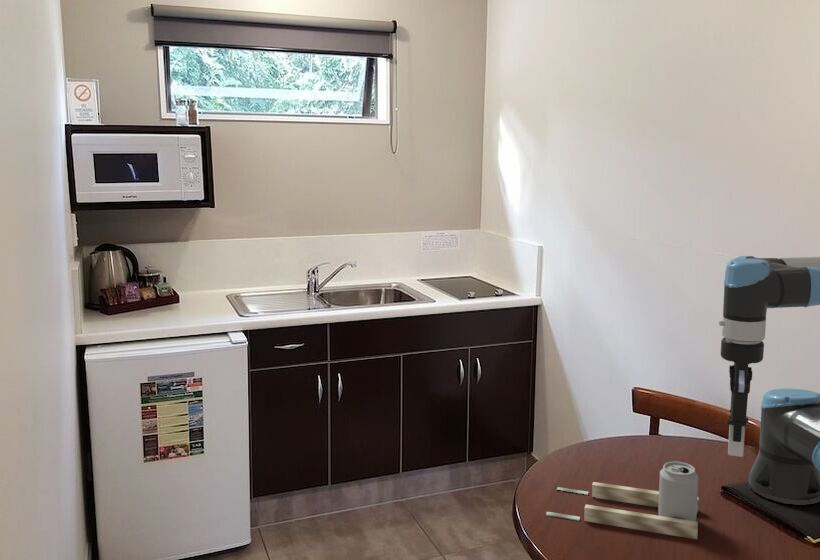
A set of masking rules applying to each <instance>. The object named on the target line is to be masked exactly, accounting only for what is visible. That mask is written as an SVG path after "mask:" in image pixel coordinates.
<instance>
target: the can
mask: <svg viewBox="0 0 820 560" xmlns="http://www.w3.org/2000/svg"><path fill="white" fill-rule="evenodd" d="M658 483H659V485H658V486H659V487H658V491H659V507H657V508H658V510H657V511H658V512H657V513H658V514H657V516H664V517H669V516H671V517H677V518H684V519H685V520H690V521H696V522H697V514H698V513H697V497H699V496H698V494H699V493H698V492H699V474H697V472H696V468H695V467H694V466H693V465H691V464H689V463H686V462H682V461H667V462H666V463H664V464H663V466H662V469H661V470H659V482H658Z"/></svg>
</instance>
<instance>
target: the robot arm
mask: <svg viewBox="0 0 820 560" xmlns="http://www.w3.org/2000/svg"><path fill="white" fill-rule="evenodd" d="M723 285H724V286H723V288H724V290H723V306H722V307H723V308H722V312H723V313H722V316H723V317H722V320H720V321H718V325H719V327H720V326H721V327H722V329H721V330H722V331H721V336H723V338H722V339H721V341H720V342H721V343H720V357H721V358H722V359H723V360H725V361H727V362H732V363H733V365H729V369H728V372H729V378H730V379H729V389H730V393H731V394H730V409H729V413H730V415H729V419H730V420H728V419H727V420H726V425H729V428H728V443H727V444H728V447H727V456H733V457H741V458H743V457H744V447H745V435H746V433H745V432H746V426H747V423H749V417H747V412H748V411H747V409H748V398H749V397H748V396H749V393H750V392H751V391H750V390H751V381H752V380H753V370H752V368H753V367H750V366H749V365H751V364H758V363H760V362H762V361H763V359H764V349H765V343H764V340H765V339H766V326H767V310H768V309H775V308H776V309H777V308H778V309H780V308H781V309H782V308H784V309H785V308H803V307H804V308H808V307H814V306H820V256H813V257H812V256H809V257H808V256H805V257H803V256H800V257H797V256H795V257H762V258H761V257H755V256H753V255H740V256H739V255H738V256H736V257H735V258H732V259H730V260H729V261H728V262H727V263H726V268H725V273H724V280H723ZM760 409H761V410H760V427H759V428H760V430H759V444H758V445H759V449H758V454H757V457H756V458H755V461H754V463H753V465H752V467H751V469H750V472H749V474H748V482H749V484H750V485H751V486H752V487H753V488H755V489H756V490H758V491H760V492H762V493H765V494H768V495H771V496H775V497H778V498H784V499H790V500H810V499H814V498H817V497H818V496H820V393H819V392H816V391H812V390H808V389H803V388H802V389H801V388H775V389H769V390H768V391H766V392H765V393H764V394H763V396H762V400H761V405H760Z"/></svg>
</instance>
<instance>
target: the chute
mask: <svg viewBox="0 0 820 560" xmlns="http://www.w3.org/2000/svg"><path fill="white" fill-rule="evenodd" d="M591 485H592V486H591V498H593V497H595V499H599V500H608V501H613V502H614V501H615V502H621V503H627V504H634V505H639V506H640V505H641V506H646V507H654V508H659V490H652V489H645V488H638V487H631V486H626V485H625V486H624V485H620V484H619V485H618V484H610V483H606V482H605V483H604V482H597V481H593V482H592V484H591ZM557 490H561V491H560V492H563V491H567V492H566V493H569V492H571V493H570V494H576V493H577V495H582V494H584V495H583V496H589V494H590V492H589V491H586V490H579V489H573V488H566V487H559V486H558V487H556V491H557ZM572 492H573V493H572ZM588 493H589V494H588ZM699 501H700V497H699V496H697V514H698V513H699ZM583 513H584V514H583V515H584V516H583V519H584V520H583V521H584V522H589V523H595V524H599V525H600V524H601V525H605V526H606V525H607V526H613V527H619V528H623V529H624V528H626V529H631V530H638V531H643V532H648V533H650V532H651V533H656V534H662V535H667V536H674V537H682V538H687V539H693V540H698V530H699V529H698V528H699V527H698V526H699V522H698V521H697V520H696V521H690V520H685V519H684V518H677V517H671V516H669V517H664V516H658V514H657V515H656V514H652V513H651V514H649V513H645V512H644V513H643V512H638V511H637V512H636V511H630V510H624V509H618V508H617V509H616V508H612V507H605V506H597V505H592V504H585V506H584V511H583ZM545 516H546V517H554V518H559V519H567V520H571V521H578V522H580V520H581V516H578V515H573V514H572V515H571V514H565V513H558V512H553V511H546V513H545Z"/></svg>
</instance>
